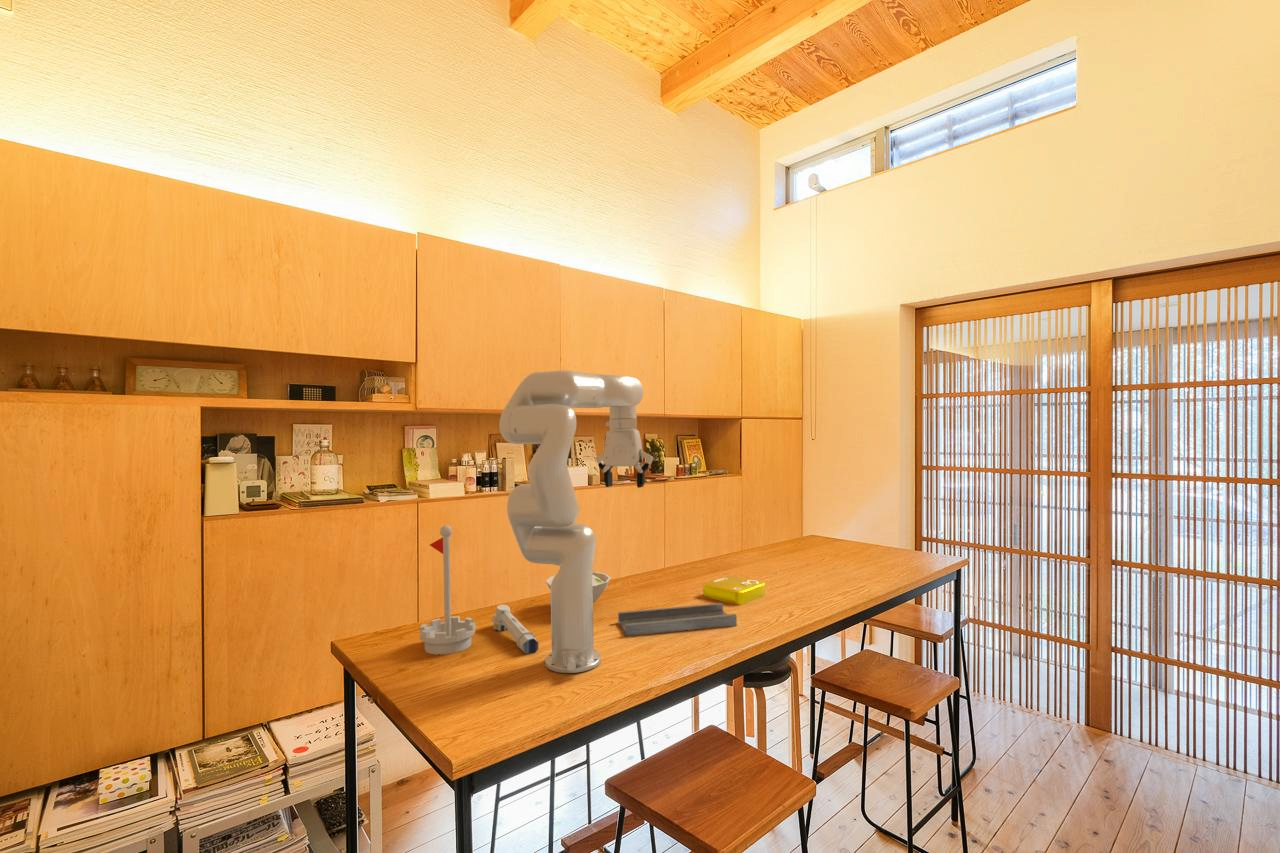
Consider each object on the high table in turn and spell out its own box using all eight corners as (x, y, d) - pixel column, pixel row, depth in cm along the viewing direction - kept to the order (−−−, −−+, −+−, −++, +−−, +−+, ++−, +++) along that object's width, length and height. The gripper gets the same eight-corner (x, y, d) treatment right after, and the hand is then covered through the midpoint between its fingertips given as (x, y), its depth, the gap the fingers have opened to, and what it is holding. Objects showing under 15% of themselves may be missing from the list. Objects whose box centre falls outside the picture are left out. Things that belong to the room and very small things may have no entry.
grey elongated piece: (520, 640, 137) (490, 600, 159) (520, 667, 138) (489, 624, 160) (541, 636, 140) (509, 597, 161) (540, 662, 141) (508, 620, 162)
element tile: (729, 588, 195) (729, 573, 195) (768, 596, 184) (767, 581, 184) (700, 597, 184) (700, 582, 184) (740, 607, 173) (739, 591, 173)
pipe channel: (736, 625, 156) (736, 615, 156) (626, 636, 149) (626, 625, 149) (721, 612, 167) (721, 603, 167) (618, 622, 160) (618, 612, 160)
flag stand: (485, 639, 149) (483, 522, 149) (453, 658, 137) (450, 530, 137) (443, 634, 154) (441, 520, 154) (408, 652, 141) (406, 528, 142)
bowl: (589, 596, 187) (589, 564, 187) (624, 610, 171) (623, 576, 171) (534, 607, 175) (534, 574, 176) (566, 624, 160) (565, 587, 160)
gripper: (589, 426, 164) (590, 487, 163) (646, 424, 157) (648, 488, 157) (601, 426, 170) (602, 485, 170) (656, 425, 164) (658, 486, 164)
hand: (624, 486), depth 163 cm, fingers open, 9 cm apart
